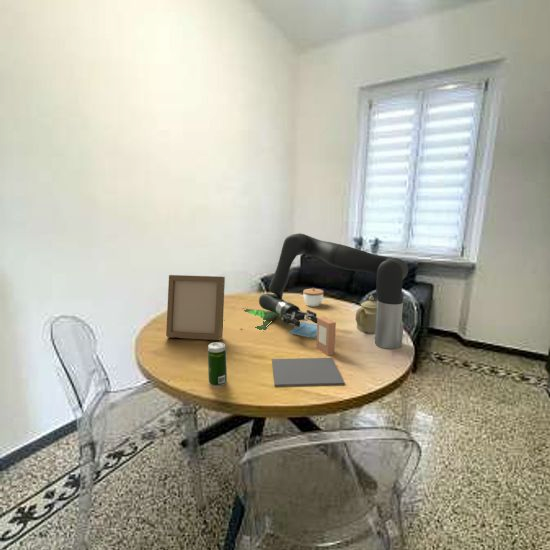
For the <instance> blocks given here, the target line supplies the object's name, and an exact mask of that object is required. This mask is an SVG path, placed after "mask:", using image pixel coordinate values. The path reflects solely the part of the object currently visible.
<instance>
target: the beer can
mask: <svg viewBox="0 0 550 550" xmlns="http://www.w3.org/2000/svg"><path fill="white" fill-rule="evenodd" d="M227 368H228V367H227V347H226V344H225V343H224V342H220V341H219V342H218V341H217V342H211V343H209V344H208V346H207V369H208V371H207V373H208V382H209V385H212V387H214V386H215V387H214V388H217V387H219V386H220V387H222V386H225V385H226V383H227V381H228V373H227V372H228V371H227V370H228V369H227ZM224 384H225V385H224Z"/></svg>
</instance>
